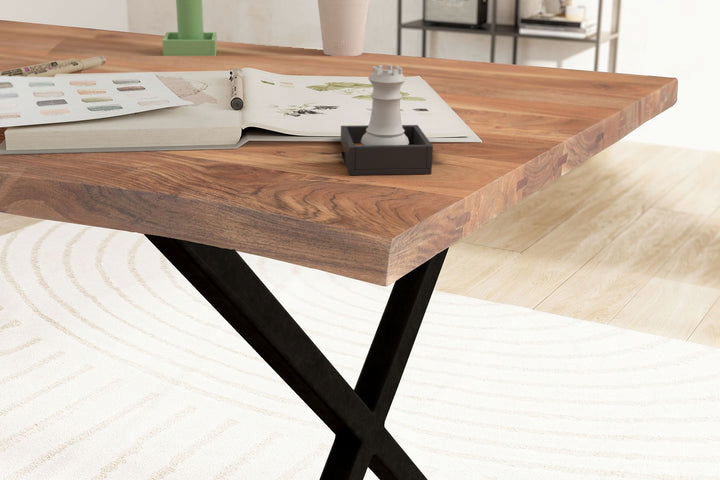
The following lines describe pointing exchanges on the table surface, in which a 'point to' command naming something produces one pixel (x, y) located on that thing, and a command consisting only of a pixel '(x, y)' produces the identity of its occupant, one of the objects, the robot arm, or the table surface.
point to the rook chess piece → (385, 108)
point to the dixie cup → (343, 26)
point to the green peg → (190, 19)
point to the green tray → (189, 45)
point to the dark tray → (386, 153)
